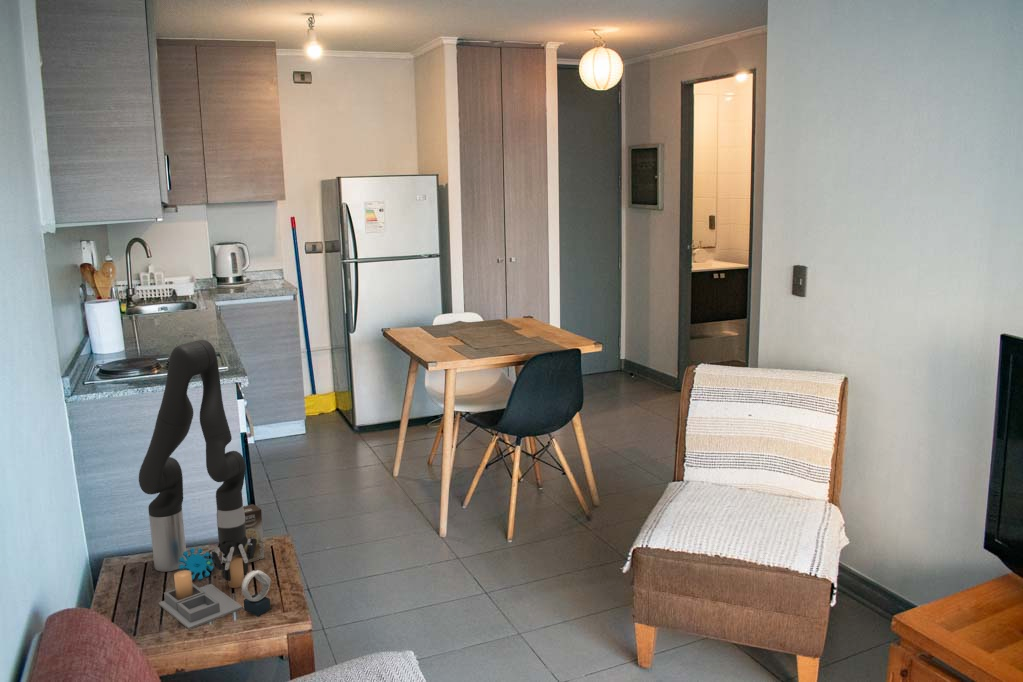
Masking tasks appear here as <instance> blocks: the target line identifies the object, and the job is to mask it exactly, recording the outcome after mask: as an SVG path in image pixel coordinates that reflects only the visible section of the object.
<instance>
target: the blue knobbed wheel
mask: <svg viewBox="0 0 1023 682" xmlns="http://www.w3.org/2000/svg"><path fill="white" fill-rule="evenodd" d="M195 551H196V548H194V547H193V548H192V547H190V549H189V551H187V550H186V551H185V552H184V553H183V555H184V556H185V557H186V559H187V561H185V560H184V558H183V557H181V558H180V559H179V562H183V563H184V564H185V566H184V565H183V564H180V566H179V569H178V570H180V571H182V570H189V571H191V575H192V581H193V580H195V578H196V575H197V574H199V575H198V577H197V580H198V581H202V580H203V579H204V577H205V578H207V577H209V576H211V573H210V572H211V571H212V570H214V568H215V566H213V565H214V563H213V561H212V559H211V558H209V557H210V554H209V551H207V552H205V553H204V554H202V553H203V551H204V550H203V548H201V547H200V548H198V550H197V553H195ZM189 553H190V556H189V555H188V554H189ZM207 569H208V570H207ZM203 572H204V575H203Z"/></svg>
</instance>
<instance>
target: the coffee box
mask: <svg viewBox="0 0 1023 682" xmlns="http://www.w3.org/2000/svg"><path fill="white" fill-rule="evenodd" d="M243 508H244V514H245V526H246V537H247V538H250V537H251V536H252V537H254V538H255V539H257V543H256V548H255V553H254V557H253V559H250V560H249V561H248V564H249V563H252V562H256V561H260V560H262V559H265V550H264V549H265V547H264V534H263V533H264V531H263V518H262V517H263V516H262V509H261V508H260V507H259V506H257V505H255V504H254V503H253V504H252V503H251V504H248V505H243ZM247 546H248V544H246V546H245V547H244V550H245V553H246V551H247ZM259 559H260V560H259Z"/></svg>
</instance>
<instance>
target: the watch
mask: <svg viewBox="0 0 1023 682" xmlns="http://www.w3.org/2000/svg"><path fill="white" fill-rule="evenodd" d="M253 578H255V579H256V580H257V581H258V582H259V583H260V584H261V585H262V587H261V590H260V591H259V592H258V593H255V594H252V595H251V593H250V591H249V589H248V587H249V583H250V581H251V580H252V579H253ZM271 582H272V579H271V577H270V576H269V575H268V574H266V573H265V572H263V571H262V570H260V569H256V570H251V571H250V572H249V571H248V572H247V575H245V576H244V580H243V582H242V586H240V588H241V593H242V595H243V596H244V598H245V599H243V610H244V612H247V613H249V614H251V615H254V616H257V617H259V616H261V615H263V614H265V613H266V612H269V611H270V610H271V609H272V608H271V599H270V598H269V597H266V595H267V594H268V592H269V591H270V587H271Z"/></svg>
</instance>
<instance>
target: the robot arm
mask: <svg viewBox="0 0 1023 682" xmlns="http://www.w3.org/2000/svg"><path fill="white" fill-rule="evenodd" d="M166 374H167V375H166V380H165V381H166V382H165V387H164V391H163V396H162V400H161V403H160V407H159V410H158V413H157V417H156V421H155V425H154V430H153V434H152V436H151V440H150V443H149V446H148V449H147V451H146V453H145V456H144V459H143V460H142V463H141V466H140V468H139V472H138V484H139V488H140V490H141V491H142V492H143V493H144V494H147V495H156V494H157V496H156V497H155V498H154V499H153V500H152V501H151V502H150V503H148V507H147V508H148V518H149V526H150V527H149V528H150V535H151V536H150V537H151V546H152V547H151V548H152V556H153V567H154V570H155V571H158V572H162V573H163V572H165V573H166V572H172V571H177V570H180V569H179V566H180V564H183V565H184V566H186V565H185V564H184V563H183V562H179V559H180V558H181V557H183V558H184V560H185V561H187V559H186V557H185V556H184V555H183V553H184V552H185V551H187V546H186V536H185V524H184V517H183V515H184V514H183V502H184V486H183V485H184V479H183V471H182V468H181V464H180V463H179V462H178V460H177V459H176V458H174V457H173V456H172V457H171V455H172V454H173V453H174V452H175V450H176V449H177V448H178V447H179V446H180V445H181V444H182V443H183V442H184V440H185V439H186V437H187V435H188V434H189V432H190V428H191V425H192V421H193V419H194V408H193V407H194V406H193V405H192V402H191V400H190V398H189V396H188V389H189V385H190V382H191V380H192V378H193V377H195V376H200V377H201V378H200V379H201V382H202V398H201V405H200V410H199V423H200V424H199V425H200V428H201V431H202V435H203V438H204V442H205V465H206V471H207V475H208V476H209V477H210V479H212V481H214V482H216V483H222V484H221V485H220V486H218V488H217V489H216V492H215V502H216V504H215V505H216V526H217V537H218V544H217V547H216V548H214V549H210V550H208V553H209V554H210V555H209V557H210V559H212V561H213V565H214V566H213V567H214V568H215V569H217V570H219V571H221V570H222V571H221V572H222V578H223V580H225V581H226V582H228V581H231V579H230V569H229V565H230V562H231V559H232V557H233V556H235V555H239V556H241V557H242V559H243V571H244V577H245V576H246V575H247V574H248V573H249V566H248V565H249V563H248V561H249V560H250V559H253V557H254V553H255V548H256V543H257V539H255V538H254V537H252V536H251V537H250V538H247V537H246V526H245V514H244V508H243V506H244V504H243V503H244V502H243V501H244V500H243V486H244V483H245V478H246V477H245V476H246V469H247V467H246V466H247V464H246V461H245V458H244V456H243V455H242V454H241V452H240V451H238V450H237V451H236V450H231V451H230V450H229V451H227V452H226V447H227V445H228V444H230V443H231V441H232V440H233V439H232V434H231V432H232V431H230V430H231V429H230V427H229V423H228V419H227V416H226V412H225V408H224V407H225V406H224V403H223V394H222V385H221V377H220V369H219V362H218V357H217V352H216V350H215V347H214V346H213V345H212V344H211V342H209V341H208V340H205V339H197V340H193V341H190V342H186V343H182V344H179V345H177V346H175V347H174V348H173V350H171V353H170V356H169V360H168V367H167V373H166ZM246 544H248V546H247V551H246V553H245V550H244V547H245V546H246ZM220 552H221V553H222V556H221V560H220V558H219V557H220Z"/></svg>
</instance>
